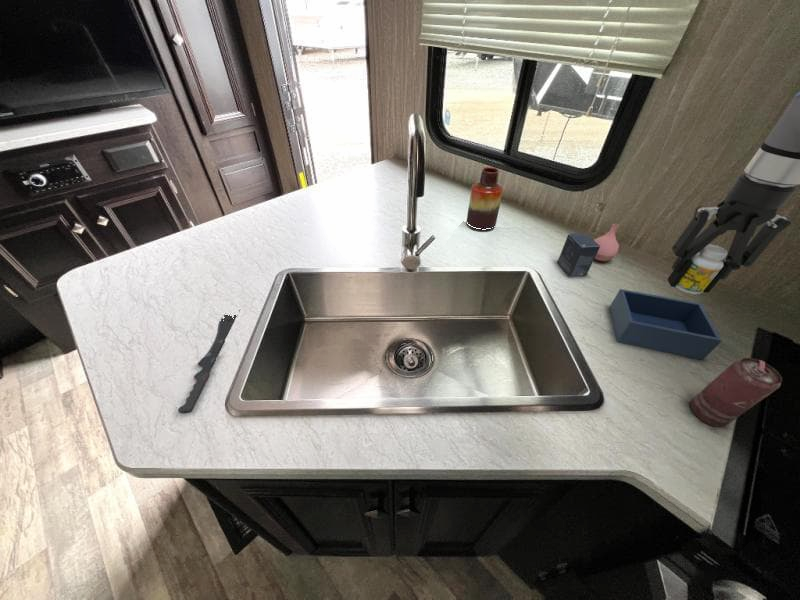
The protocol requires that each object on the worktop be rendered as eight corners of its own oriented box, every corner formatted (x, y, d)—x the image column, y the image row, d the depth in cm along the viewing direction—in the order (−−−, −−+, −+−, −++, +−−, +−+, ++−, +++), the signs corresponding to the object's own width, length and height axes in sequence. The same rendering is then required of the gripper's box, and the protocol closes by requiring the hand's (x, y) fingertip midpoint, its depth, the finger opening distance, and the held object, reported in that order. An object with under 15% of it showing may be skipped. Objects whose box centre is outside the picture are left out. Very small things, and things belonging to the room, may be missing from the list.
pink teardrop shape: (612, 255, 104) (630, 222, 96) (612, 267, 99) (630, 233, 91) (586, 249, 106) (601, 216, 98) (585, 261, 101) (600, 227, 93)
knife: (229, 303, 86) (229, 302, 86) (245, 303, 87) (244, 301, 86) (170, 413, 63) (168, 411, 62) (191, 412, 63) (190, 410, 62)
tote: (684, 322, 81) (701, 303, 77) (702, 360, 72) (722, 340, 68) (608, 307, 85) (620, 288, 81) (616, 341, 76) (630, 322, 72)
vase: (483, 235, 114) (494, 178, 100) (460, 224, 120) (467, 169, 106) (501, 225, 119) (513, 170, 106) (477, 215, 125) (487, 161, 112)
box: (586, 276, 96) (601, 246, 88) (568, 277, 95) (582, 247, 88) (573, 261, 101) (586, 231, 94) (556, 262, 101) (568, 232, 94)
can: (725, 407, 63) (781, 364, 54) (728, 433, 59) (789, 392, 50) (688, 392, 66) (735, 349, 56) (689, 416, 62) (740, 374, 52)
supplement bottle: (707, 290, 68) (739, 252, 62) (692, 298, 66) (724, 259, 60) (681, 277, 72) (708, 239, 65) (666, 283, 70) (693, 246, 63)
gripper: (824, 177, 54) (730, 283, 69) (698, 165, 58) (635, 268, 74) (856, 194, 49) (746, 306, 64) (713, 180, 53) (643, 287, 68)
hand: (687, 285), depth 69 cm, fingers closed on supplement bottle, 5 cm apart
